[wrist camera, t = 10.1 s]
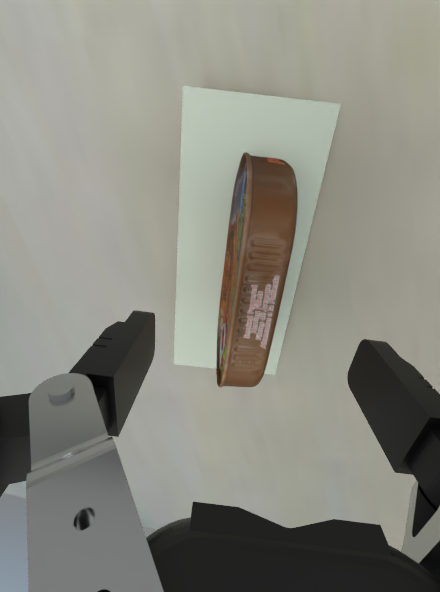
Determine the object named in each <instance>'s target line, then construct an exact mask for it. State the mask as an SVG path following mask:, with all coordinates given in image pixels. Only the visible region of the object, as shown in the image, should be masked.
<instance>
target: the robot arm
mask: <svg viewBox="0 0 440 592" xmlns="http://www.w3.org/2000/svg"><path fill="white" fill-rule="evenodd" d="M154 351H155V315H154V313H151V312H142V311H133V312H132V313H131V315H130V316H129V317H128V319H127V320H126V321H125V322H116V323H115V324H113V325H111V326H109V327H107V328H106V329H105V330H104V332H103V333H102V334H101V335H100V336H99V339H97V340H96V341H95V342H94V343H93V346H91V347H90V348H89V349H88V350H87V352H86V353H85V354H84V355H83V356H82V358H81V359H80V360H79V361H78V362H77V363H76V365H75V366H74V367H73V368H72V369H71V371H70V372H69V373H67V374H61V375H57V376H54V377H52V378H49V379H47V380H46V381H44V382H42V383H41V384H40V385H38V386H37V387H36V388H35V389H34V390H33V392H32V393H28V394H21V395H12V396H4V397H0V497H1V495H2V494H3V492H4V491H5V489H6V488H7V486H8V485H9V484H12V483H17V482H22V481H26V500H27V540H28V579H29V580H28V582H29V592H440V394H439V393H438V392H437V391H436V390H435V389H433V388H432V386H431V385H430V383H429V382H428V381H427V380H424V377H423V376H422V375H421V374H420V373H419V372H418V371H417V370H416V368H415V367H414V366H412V365H411V364H409V363H408V362H406V361H405V360H404V359H402V358H401V357H400V356H399V355H398V354H397V353H396V352H395V351H394V350H393V349H392V347H391V346H390V345H389V344H388V343H386V342H382V341H374V340H366V339H364V340H362V341H361V342H360V344H359V346H358V349H357V351H356V354H355V356H354V359H353V361H352V364H351V366H350V368H349V371H348V385H349V387H350V389H351V391H352V393H353V395H354V397H355V399H356V401H357V402H358V404H359V406H360V408H361V410H362V412H363V414H364V415H365V417H366V419H367V421H368V423H369V425H370V427H371V429H372V430H373V432H374V434H375V436H376V438H377V440H378V442H379V443H380V445H381V447H382V449H383V451H384V453H385V455H386V456H387V458H388V460H389V462H390V464H391V466H392V468H393V470H394V471H395V472H396V473H404V474H412V475H414V476H415V478H416V482H415V483H414V485H413V486H412V490H411V496H410V503H409V510H408V516H407V523H406V530H405V537H404V543H403V547H402V550H401V552H400V551H399V550H397V549H395V548H393V547H391V546H389V545H388V543H387V541H386V538H385V536H384V533H383V531H382V528H381V526H380V525H375V524H367V523H359V522H351V521H343V520H335V519H333V520H329V521H324V522H319V523H315V524H310V525H306V526H301V527H296V528H286V527H283V526H281V525H278V524H276V523H274V522H271V521H269V520H267V519H264V518H262V517H260V516H258V515H255V514H253V513H251V512H248V511H246V510H244V509H241V508H239V507H231V506H223V505H215V504H207V503H199V502H193V506H192V514H191V517H190V518H186V519H181V520H178V521H175V522H172V523H170V524H168V525H166V526H164V527H162V528H160V529H158V530H157V531H155V532H154V533H152V534H151V535H149V536H148V537H147V538H146V536H145V533H144V530H143V527H142V524H141V521H140V518H139V515H138V512H137V509H136V506H135V503H134V500H133V497H132V494H131V491H130V488H129V485H128V482H127V479H126V476H125V473H124V470H123V466H122V463H121V460H120V457H119V454H118V451H117V448H116V445H115V443H114V440H113V438H112V437H109V436H116V437H118V436H119V434H120V432H121V430H122V427H123V425H124V423H125V421H126V418H127V416H128V414H129V412H130V410H131V407H132V405H133V403H134V401H135V398H136V396H137V394H138V392H139V389H140V387H141V385H142V383H143V381H144V378H145V376H146V374H147V372H148V369H149V367H150V365H151V363H152V360H153V356H154Z"/></svg>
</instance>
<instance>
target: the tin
mask: <svg viewBox="0 0 440 592" xmlns="http://www.w3.org/2000/svg"><path fill="white" fill-rule="evenodd" d="M297 210H298V190H297V182H296V177H295V173H294V170H293V168H292V167H291V166H290V165H289V164H288V163H287V162H286V161H284V160H281V159H277V158H269V157H259V156H252V155H250V154H249V153H247V152H245V153H243V155H242V157H241V160H240V164H239V168H238V172H237V176H236V180H235V184H234V190H233V197H232V204H231V212H230V219H229V228H228V236H227V245H226V254H225V262H224V270H223V279H222V287H221V296H220V305H219V316H218V329H217V364H216V368H217V384H218V386H219V387H222V386H236V387H253V386H256V385H257V384H258V383H259V382H260V381H261V379H262V377H263V374H264V372H265V369H266V366H267V362H268V357H269V353H270V349H271V345H272V340H273V336H274V331H275V327H276V323H277V318H278V314H279V309H280V305H281V300H282V296H283V291H284V286H285V281H286V277H287V272H288V267H289V263H290V258H291V253H292V249H293V243H294V237H295V231H296V222H297Z"/></svg>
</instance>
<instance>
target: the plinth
mask: <svg viewBox="0 0 440 592" xmlns="http://www.w3.org/2000/svg"><path fill="white" fill-rule="evenodd" d="M340 106H341V104H338V103H330V102H321V101H312V100H303V99H294V98H285V97H277V96H268V95H259V94H250V93H241V92H232V91H223V90H215V89H206V88H197V87H188V86H183V95H182V126H181V156H180V186H179V217H178V247H177V277H176V308H175V338H174V364H177V365H187V366H196V367H205V368H215V369H217V368H216V364H217V329H218V316H219V305H220V296H221V287H222V279H223V270H224V262H225V254H226V245H227V236H228V228H229V219H230V212H231V204H232V197H233V190H234V184H235V180H236V176H237V172H238V168H239V164H240V160H241V157H242V155H243V153H245V152H247V153H249V154H250V155H252V156H259V157H269V158H277V159H281V160H284V161H286V162H287V163H288V164H289V165H290V166H291V167H292V168H293V170H294V173H295V177H296V182H297V190H298V210H297V222H296V231H295V237H294V243H293V249H292V253H291V258H290V263H289V267H288V272H287V277H286V281H285V286H284V291H283V296H282V300H281V305H280V309H279V314H278V318H277V323H276V327H275V331H274V336H273V340H272V345H271V349H270V353H269V357H268V362H267V366H266V369H265V372H264V374H270V375H275V373H276V369H277V365H278V361H279V357H280V352H281V348H282V344H283V340H284V336H285V332H286V328H287V324H288V320H289V315H290V311H291V307H292V303H293V299H294V295H295V291H296V287H297V283H298V278H299V274H300V270H301V266H302V262H303V258H304V254H305V250H306V246H307V241H308V237H309V233H310V229H311V225H312V221H313V217H314V213H315V209H316V204H317V200H318V196H319V192H320V188H321V184H322V180H323V176H324V172H325V168H326V163H327V159H328V155H329V151H330V147H331V143H332V139H333V135H334V131H335V126H336V122H337V118H338V114H339V110H340Z"/></svg>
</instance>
